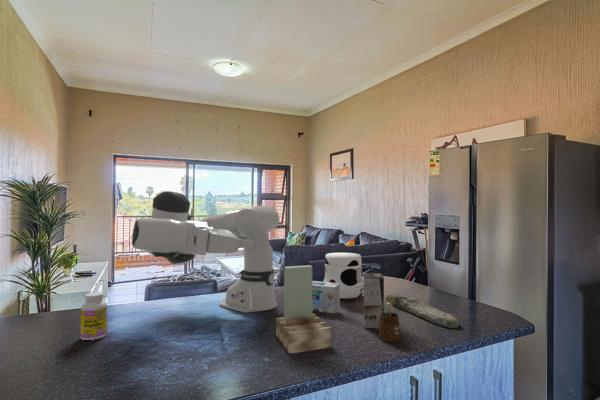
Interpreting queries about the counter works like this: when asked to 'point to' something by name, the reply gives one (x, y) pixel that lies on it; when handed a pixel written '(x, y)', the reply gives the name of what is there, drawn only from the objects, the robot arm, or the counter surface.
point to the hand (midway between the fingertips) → (250, 241)
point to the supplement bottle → (93, 317)
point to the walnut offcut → (302, 321)
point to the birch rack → (303, 336)
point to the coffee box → (373, 299)
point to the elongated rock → (423, 310)
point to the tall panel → (297, 292)
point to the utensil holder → (389, 324)
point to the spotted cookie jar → (345, 274)
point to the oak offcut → (306, 327)
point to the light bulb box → (325, 297)
